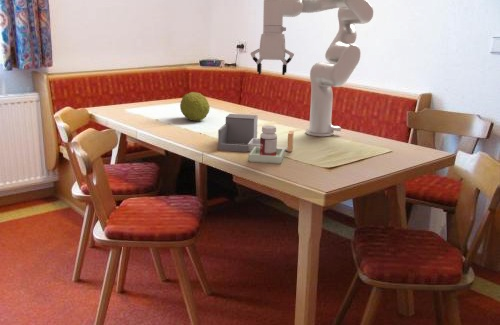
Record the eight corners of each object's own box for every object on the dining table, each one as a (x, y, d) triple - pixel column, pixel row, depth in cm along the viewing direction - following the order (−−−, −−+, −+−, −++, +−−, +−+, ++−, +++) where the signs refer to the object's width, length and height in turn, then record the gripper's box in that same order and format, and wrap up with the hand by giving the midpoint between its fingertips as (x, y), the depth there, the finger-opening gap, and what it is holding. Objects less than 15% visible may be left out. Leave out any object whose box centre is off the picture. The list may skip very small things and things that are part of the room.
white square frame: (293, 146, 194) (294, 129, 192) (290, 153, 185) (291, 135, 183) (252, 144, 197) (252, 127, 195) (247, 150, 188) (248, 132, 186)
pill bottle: (258, 154, 181) (259, 125, 178) (274, 154, 182) (275, 124, 179) (261, 159, 175) (261, 128, 172) (277, 158, 176) (278, 128, 173)
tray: (284, 155, 183) (284, 148, 182) (280, 164, 172) (280, 157, 171) (254, 153, 185) (254, 146, 184) (248, 161, 174) (248, 154, 173)
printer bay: (256, 139, 205) (257, 115, 202) (247, 152, 186) (248, 125, 183) (229, 137, 207) (230, 113, 204) (218, 150, 188) (218, 123, 185)
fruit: (217, 120, 240) (210, 96, 230) (191, 132, 237) (183, 108, 227) (205, 105, 251) (197, 81, 241) (180, 116, 248) (171, 92, 238)
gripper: (295, 30, 191) (294, 73, 196) (252, 29, 194) (252, 72, 199) (293, 31, 184) (292, 76, 189) (249, 30, 187) (248, 74, 192)
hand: (271, 74), depth 194 cm, fingers open, 9 cm apart
